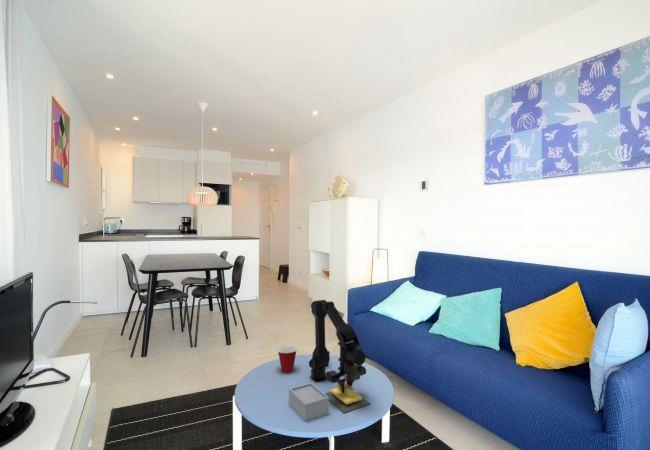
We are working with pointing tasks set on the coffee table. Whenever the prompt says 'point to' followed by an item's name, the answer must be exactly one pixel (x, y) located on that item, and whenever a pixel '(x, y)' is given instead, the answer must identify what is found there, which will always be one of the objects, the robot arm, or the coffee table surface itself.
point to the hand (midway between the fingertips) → (345, 392)
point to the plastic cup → (287, 358)
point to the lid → (346, 394)
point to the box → (308, 401)
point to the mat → (346, 407)
